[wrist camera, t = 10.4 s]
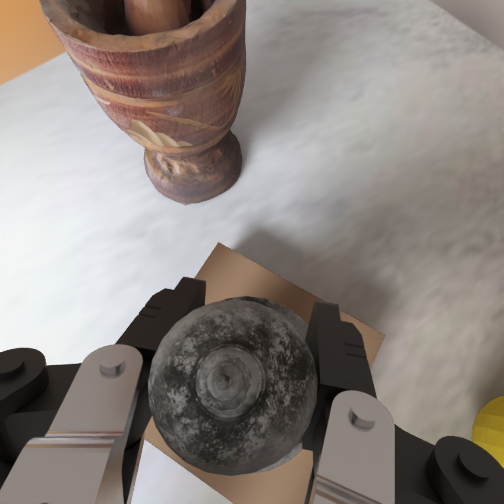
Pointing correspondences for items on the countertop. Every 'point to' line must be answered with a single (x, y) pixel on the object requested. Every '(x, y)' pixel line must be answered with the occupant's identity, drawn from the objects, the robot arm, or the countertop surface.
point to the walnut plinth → (301, 303)
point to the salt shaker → (234, 386)
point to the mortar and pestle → (164, 82)
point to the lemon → (491, 429)
